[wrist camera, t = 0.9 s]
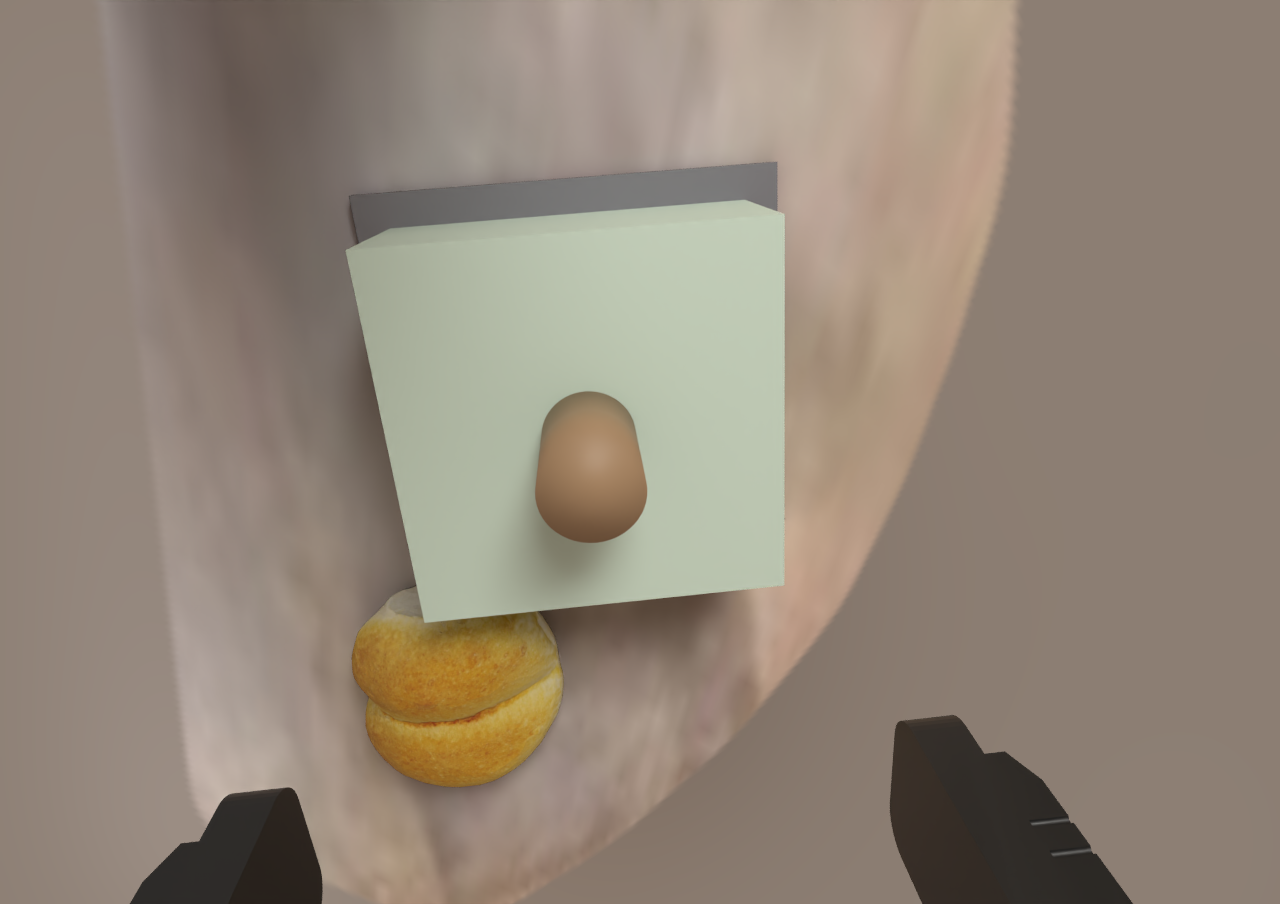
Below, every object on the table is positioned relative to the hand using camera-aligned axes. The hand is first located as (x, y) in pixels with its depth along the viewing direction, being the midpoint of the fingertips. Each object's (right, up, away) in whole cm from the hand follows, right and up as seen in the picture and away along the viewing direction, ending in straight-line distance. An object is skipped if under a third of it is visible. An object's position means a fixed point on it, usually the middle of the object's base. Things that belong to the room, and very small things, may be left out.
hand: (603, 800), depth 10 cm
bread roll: (-7, -4, +23) cm, 24 cm away
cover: (-1, +7, +17) cm, 19 cm away
